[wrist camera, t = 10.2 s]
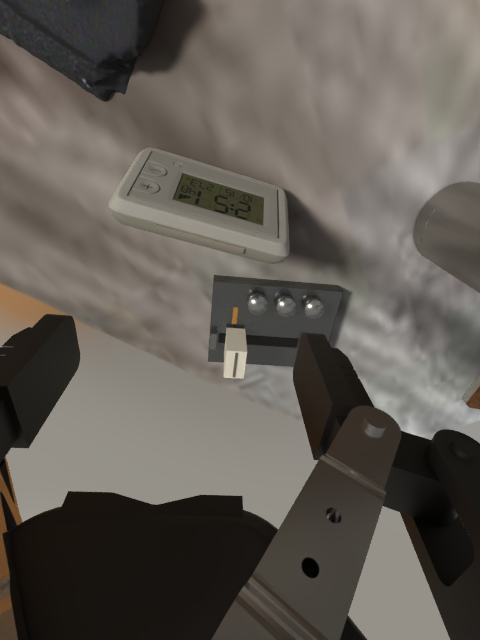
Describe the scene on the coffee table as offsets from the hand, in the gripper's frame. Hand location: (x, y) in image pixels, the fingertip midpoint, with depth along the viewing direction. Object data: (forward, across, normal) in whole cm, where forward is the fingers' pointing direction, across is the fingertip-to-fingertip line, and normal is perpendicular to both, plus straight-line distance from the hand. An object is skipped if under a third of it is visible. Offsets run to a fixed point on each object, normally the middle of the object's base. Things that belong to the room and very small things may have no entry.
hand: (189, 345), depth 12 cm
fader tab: (+26, -4, +17) cm, 31 cm away
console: (+28, -8, +15) cm, 33 cm away
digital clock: (+28, 0, 0) cm, 28 cm away
